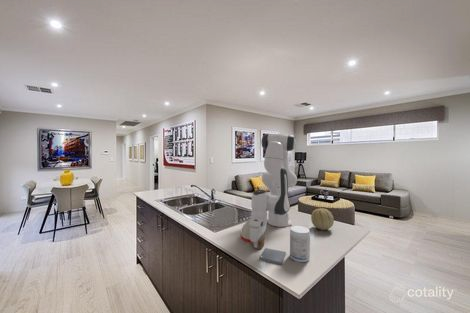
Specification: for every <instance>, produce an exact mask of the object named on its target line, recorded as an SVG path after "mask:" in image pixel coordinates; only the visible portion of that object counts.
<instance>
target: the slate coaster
mask: <svg viewBox="0 0 470 313" xmlns="http://www.w3.org/2000/svg"><path fill="white" fill-rule="evenodd" d="M286 255H287V253H286V251H283V250H278V249H273V248H267V247H264V248H263V251H262V252H261V254H260V256H259V260H260V261H263V262H267V263H272V264H276V265H280V266H282V265H283V263H284V260H285V257H286Z"/></svg>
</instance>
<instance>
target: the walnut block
mask: <svg viewBox="0 0 470 313" xmlns="http://www.w3.org/2000/svg"><path fill="white" fill-rule="evenodd" d="M264 246H265V237H260V239H259V240H258V247H257V248H255V247H254V242H253V243H252V248H253V249H258V250H263V249H264Z"/></svg>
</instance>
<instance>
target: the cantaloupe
mask: <svg viewBox="0 0 470 313" xmlns="http://www.w3.org/2000/svg"><path fill="white" fill-rule="evenodd" d="M334 219H335V218H334V216H333V214H332V212H331V211H329V209H327V208H321V207H320V206H318V207H317V208H316V209H314V210H313V211H312V212H311V216H310V220H311V223H312V225H313V226H314V227H315V228H316V229H318V230H322V231H326V230H329V229H330V228H332V227H333V226H334V221H335V220H334Z"/></svg>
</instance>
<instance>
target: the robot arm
mask: <svg viewBox="0 0 470 313" xmlns="http://www.w3.org/2000/svg"><path fill="white" fill-rule="evenodd" d="M295 137H296V136H294V135H292V134H285V133H265V134H264V135H263V136H262V138H261V140H260V141H261V147H262V148H263V149H264V150H265V153H264V161H263V167H264V169H265V171H266V172H265V171H264V173H263V174H262V175H261V182H262V184H263V185H264V186H265V187H266V188H267V189H268V191H269V193H268V192H267V191H266V190H265V189H256V190H253V192H252V194H251V204H250V206H251V214H250V218H249V219H250V222H249V226H250V241H251V242H250V243H252V242H254V247H255V248H254V249H257V247H258V240H259V239H260V237H263V236H264V234H265V231H266V230H267V223H268V225H270V226H274V227H278V228H279V227H280V228H281V227H282V228H283V227H290V226H291V227H292V219H291V218H290V217H289V211H290V207H291V206H290V205H291V203H290V198H289V187H294V186H296V185H297V182H298V177H297V174H296V173H294V171H292V170H291V169H290V167H289V162H288V161H289V159H288V158H289V152H292V151H294V149H295V148H296V145H297V144H296V143H297V140H296V138H295ZM267 212H268V213H267Z"/></svg>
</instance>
